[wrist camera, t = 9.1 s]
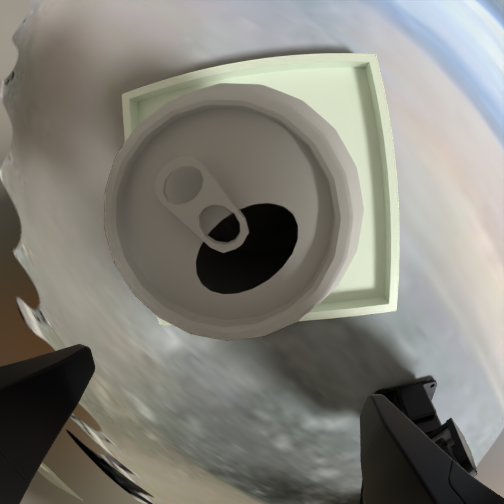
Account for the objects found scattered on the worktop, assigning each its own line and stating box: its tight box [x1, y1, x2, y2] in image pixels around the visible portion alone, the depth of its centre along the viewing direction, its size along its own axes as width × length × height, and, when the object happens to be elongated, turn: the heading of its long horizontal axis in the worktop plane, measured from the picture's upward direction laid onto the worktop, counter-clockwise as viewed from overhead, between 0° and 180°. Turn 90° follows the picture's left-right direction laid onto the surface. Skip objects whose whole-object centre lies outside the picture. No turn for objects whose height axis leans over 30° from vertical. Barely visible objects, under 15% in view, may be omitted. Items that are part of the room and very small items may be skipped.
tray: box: [122, 53, 400, 325], centre depth 17 cm, size 17×17×2 cm
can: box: [104, 83, 364, 341], centre depth 12 cm, size 8×8×12 cm
